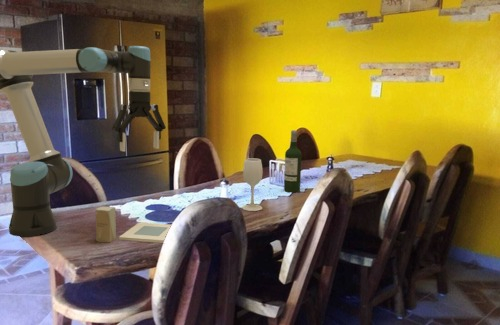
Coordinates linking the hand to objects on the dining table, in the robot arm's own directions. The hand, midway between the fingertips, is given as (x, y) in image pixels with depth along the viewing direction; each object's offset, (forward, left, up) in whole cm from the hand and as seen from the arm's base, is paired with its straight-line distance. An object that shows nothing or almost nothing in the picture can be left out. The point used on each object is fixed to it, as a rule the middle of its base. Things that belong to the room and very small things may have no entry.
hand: (139, 149), depth 160 cm
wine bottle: (+51, +63, -28) cm, 86 cm away
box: (-4, -20, -28) cm, 35 cm away
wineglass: (+37, +28, -28) cm, 54 cm away
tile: (+8, -11, -28) cm, 31 cm away
